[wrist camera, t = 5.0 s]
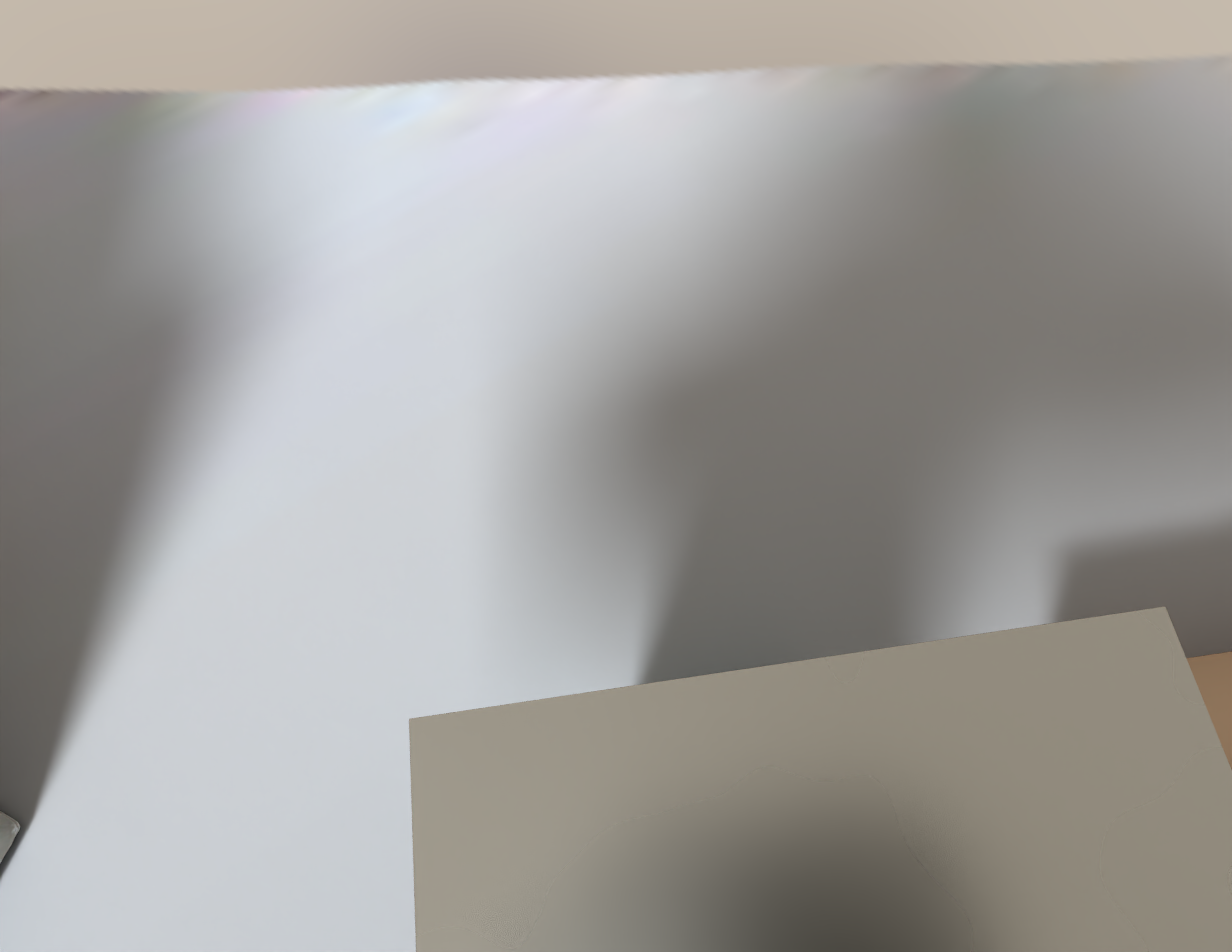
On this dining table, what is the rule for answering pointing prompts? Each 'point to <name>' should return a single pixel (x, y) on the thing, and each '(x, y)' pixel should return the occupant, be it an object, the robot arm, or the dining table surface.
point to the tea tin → (841, 806)
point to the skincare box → (7, 833)
